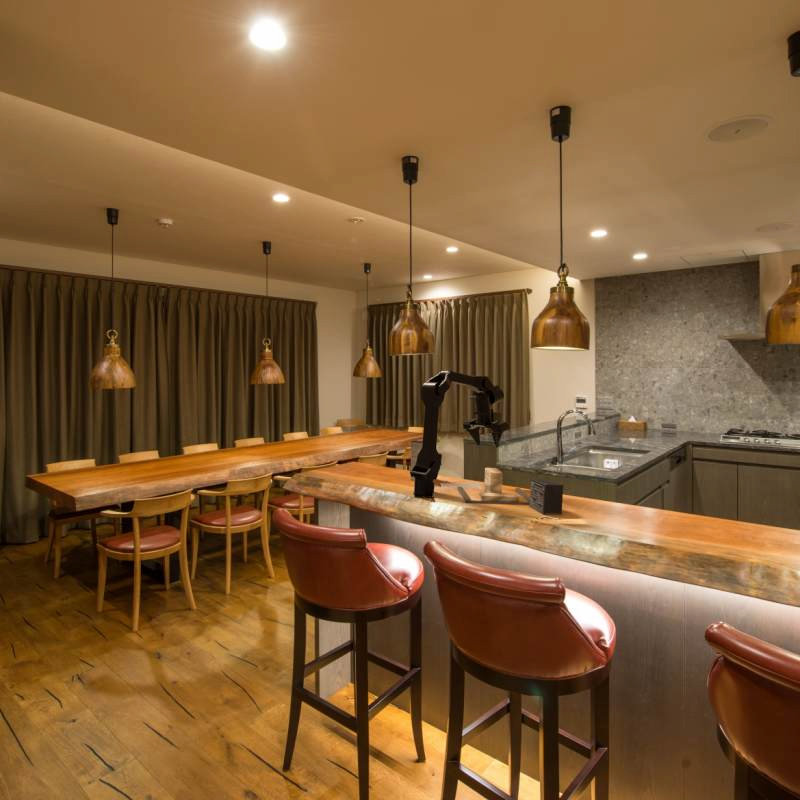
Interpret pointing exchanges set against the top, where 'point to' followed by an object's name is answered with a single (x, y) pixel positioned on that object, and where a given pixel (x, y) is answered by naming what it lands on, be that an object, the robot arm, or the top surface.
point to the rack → (518, 490)
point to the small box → (546, 496)
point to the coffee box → (415, 451)
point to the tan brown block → (493, 480)
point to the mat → (461, 485)
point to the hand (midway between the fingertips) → (487, 446)
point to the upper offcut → (498, 497)
